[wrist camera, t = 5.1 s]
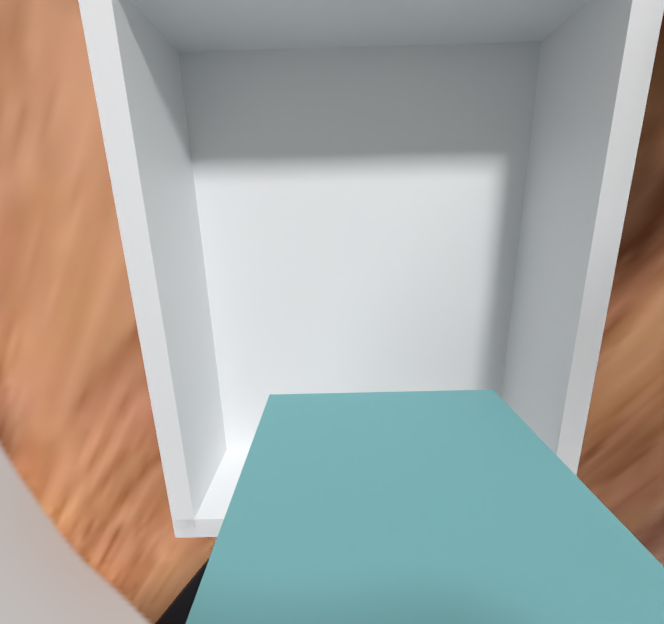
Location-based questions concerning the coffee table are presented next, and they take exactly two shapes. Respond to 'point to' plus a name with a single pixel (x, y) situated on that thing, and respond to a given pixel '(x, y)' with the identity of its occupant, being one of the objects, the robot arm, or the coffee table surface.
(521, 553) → the teal cube
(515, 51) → the tote
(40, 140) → the coffee table surface
